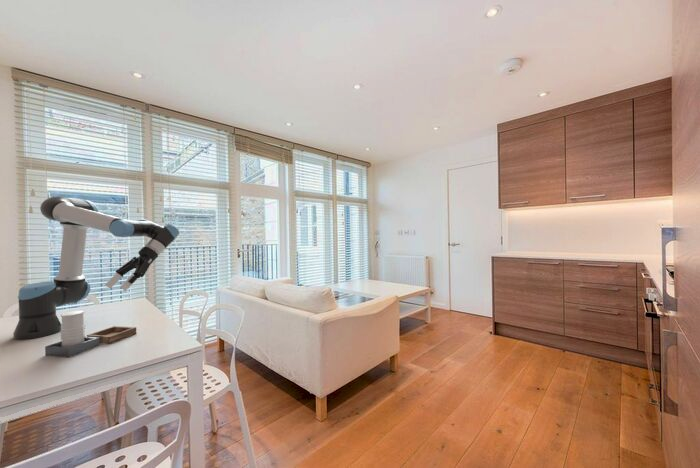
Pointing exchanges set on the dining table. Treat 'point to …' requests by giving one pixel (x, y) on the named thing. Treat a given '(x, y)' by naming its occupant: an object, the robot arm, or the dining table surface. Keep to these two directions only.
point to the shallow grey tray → (71, 348)
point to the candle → (72, 328)
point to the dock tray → (113, 334)
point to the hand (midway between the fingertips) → (114, 287)
